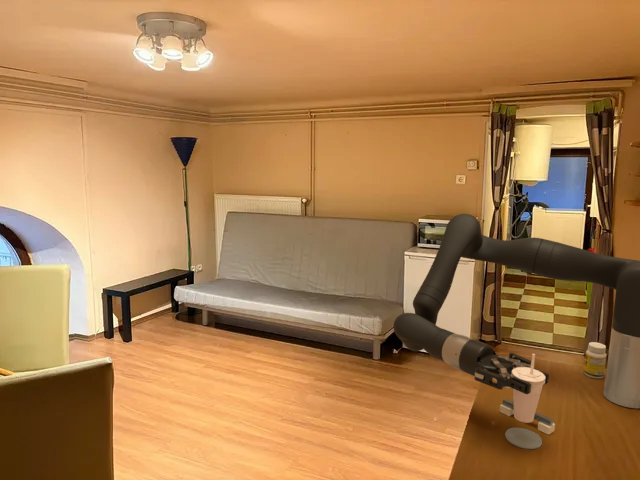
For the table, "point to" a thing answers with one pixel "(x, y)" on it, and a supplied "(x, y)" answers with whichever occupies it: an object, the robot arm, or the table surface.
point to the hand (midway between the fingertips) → (539, 384)
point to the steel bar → (537, 415)
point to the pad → (523, 438)
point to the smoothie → (527, 402)
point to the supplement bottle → (595, 360)
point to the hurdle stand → (541, 426)
